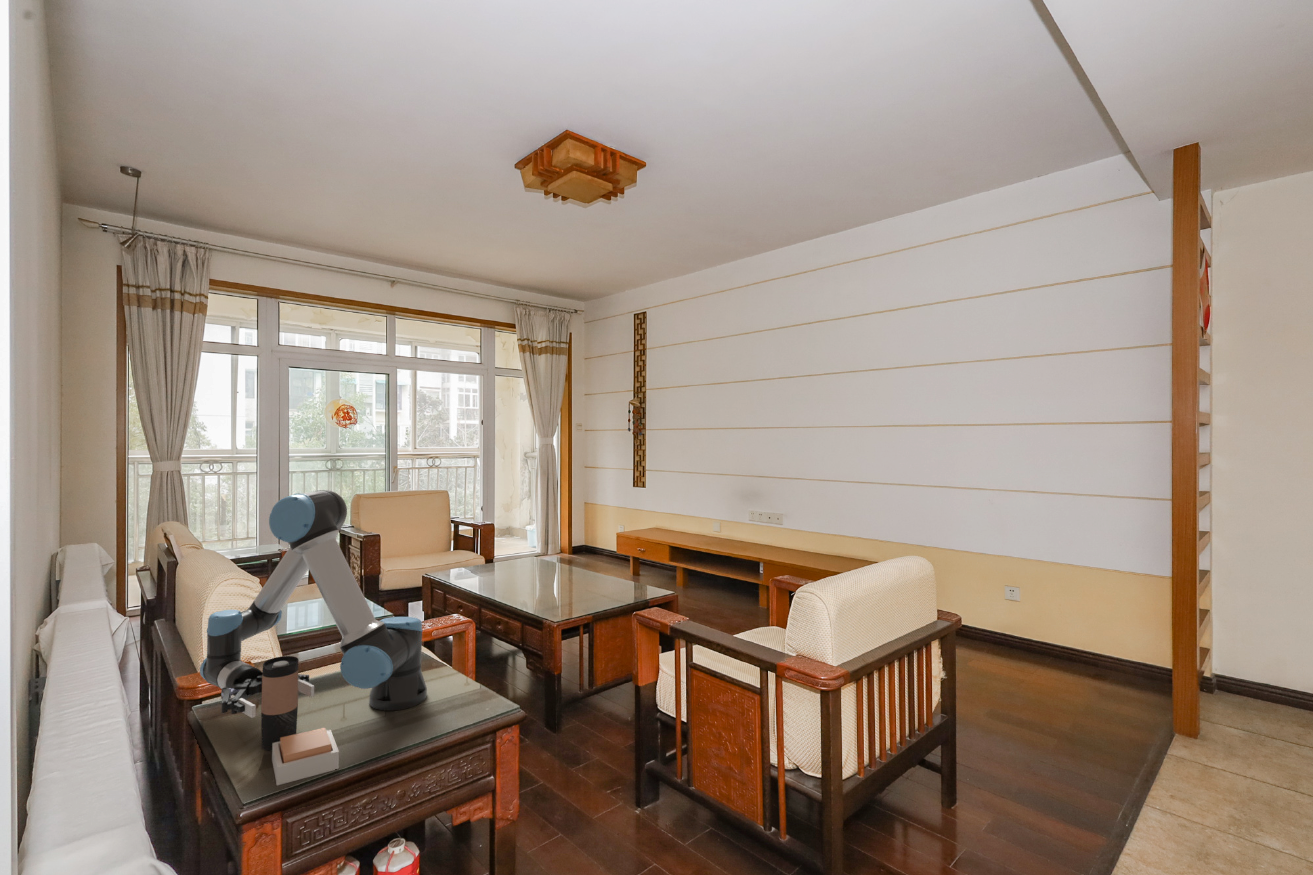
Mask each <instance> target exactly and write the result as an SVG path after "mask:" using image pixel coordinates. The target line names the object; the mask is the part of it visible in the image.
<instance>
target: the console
mask: <svg viewBox="0 0 1313 875" xmlns="http://www.w3.org/2000/svg"><path fill="white" fill-rule="evenodd" d="M326 731H327V734H328V736H329V739H330V742H331V752H327V753H323V754H319V755H315V756H311V757H307V758H303V759H299V760H295V761H291V762H287V763H283V762H282V758H281V753H280V742H275V743H272V750H271V762H272V768H273V772H274V778H275V783H276V784H275V785H276V786H281V785H284V784H288V783H292V782H295V781H298V780H299V781H300V780H303V779H307V778H310V777H313V776H317V775H321V774H325V773H328V772H333V771H336V770H335V769H337V770H339V769H340V768H339V766H340V764H339V763H340V759H339V758H340V751H339V748H338V745H337V743H336V741H335V737H334V736H333V733H332V730H331V729H326Z"/></svg>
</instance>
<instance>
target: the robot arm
mask: <svg viewBox="0 0 1313 875" xmlns="http://www.w3.org/2000/svg"><path fill="white" fill-rule="evenodd" d="M347 515H348V507H347V504H346V502H345V500H344V498H343V497H342V496H341V495H340V494H338V493H336V492H335V491H332V490H329V489H319V490H315V491H308V492H297V493H294V494H291V495H288V496H285V497H283V498H281V499H279V500H278V501H277V502H276V503H275V504H274V505H273V507H272V508H271V512H270V514H269V517H268V524H269V529H270V532H271V533H272V535H273V536H274V537H275V538H276V539H278V540H280V541H281V542H284V543H288V545H289V547H288V549H287V551H286V552H285V554H284V555H283V557H282V558H281V559H280V561H279V562H278V564H277V565H276V567H275V569H273V572H272V573H271V575H270V576H269V577H268V579H267V580H266V581H265V584H264V585H263V587H262V588H261V589H260V591H259V593H257V596H255V598H254V600H253V602H252V603H251V604H250V605H249V607H248V608H247V609H245V610H242V611H240V610H238V609H223V610H220V611H216V612H213V613H212V614H210V615H209V616H208V621H207V629H206V633H207V634H206V635H207V636H206V643H207V644H206V657H205V659H203V661H202V663H201V665H200V666H199V674H200V676H201V677H202V679H203V680H205V681H206V682H207V683H208V684H210V685H213V686H216V687H218V688H219V689H221V690H220V692H221V694H220V695H221V697H220V699H221V708H220V710H221V712H220V713H221V714H226V713H228V712H229V711H231V712H230V714H231V715H237V713H238V714H239V713H241V714H244V715H246V716H248V717H249V718H251V719H253V718H256V712H257V711H256V709H257V706H256V704H254V703H252V702H250V701H249V700H248V698H251V697H252V696H254V695H257V694H258V693H259V694H262V672H263V671H261V670H260V669H259V668H257V667H255V666H252V665H251V664H249V663H246V662H244V661H242V660H241V658H242V642H244V641H245V640H247V639H251V638H252V637H254V636H256V635H259V634H260V633H264V632H266V631H268V630H270V629H272V628H273V627H274V626H276V625H278V623H280V622H281V619H282V614H283V611H282V609H283V607H284V606H285V605H286V603H287V602H288V601H289V598H290V597H291V595H293V593H294V592H295V590H296V589H297V587H298V585H299V584H300V583H301V581H302V580H303V578H304V576H305V575H306V574H307V572H308V571H309V572H310V575H311V576H312V579H313V580H314V582H315V584H316V587H317V589H318V590H319V593H320V594H321V596H322V598H323V600H324V601H323V602H324V603H325V604H326V606H327V608H328V611H329V613H330V615H331V618H332V619H333V621H334V623H335V625H336V627H337V629H338V632H339V633H340V635H341V641H340V643H339V648H340V651H341V653H342V658H341V659H340V660H341V662H340V664H339V668H340V673H341V676H342V677H343V679H344V680H345V681H346V682H347V683H348V684H349V685H351V686H352V687H355V688H358V689H361V690H362V689H363V690H366V689H371V690H370V692H369V698H368V699H369V701H368V704H369V706H370V707H371V708H373V709H376V710H380V711H388V712H389V711H400V710H406V709H409V708H413V707H416V706H417V705H419V704H421V703H422V702H424V701H425V700H426V698H427V695H428V689H427V688H428V687H427V685H426V681H425V679H424V674H423V672H422V648H423V647H422V646H423V645H422V644H423V643H422V642H423V623H422V621H421V619H419V618H418V617H413V616H393V617H392V616H391V617H385V618H383V619H380V620H377V619H376V618H375V616H374V614H373V611H372V609H371V607H370V606H369V603H368V602H367V599H366V597H365V596H364V594H363V591H362V589H361V588H360V586H359V584H358V582H357V580H356V578H355V575H354V573H353V571H352V569H351V568H350V565H349V563H348V561H347V560H346V557H345V555H344V553H343V551H342V548H341V547H340V545H339V543H338V541H337V536H338V534H339V532H340V530H341V529H342V527H343V526H344V524H345V521H346V520H347ZM298 693H301V694H303V695H306V696H308V697H309V698H313V697H315V685H314V684H312V683H311V682H310V674H302V673H298ZM232 696H233V697H232ZM230 699H231V701H230Z"/></svg>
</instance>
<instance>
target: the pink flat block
mask: <svg viewBox="0 0 1313 875" xmlns="http://www.w3.org/2000/svg"><path fill="white" fill-rule="evenodd" d="M327 752H331V742H330V739H329V736H328V734H327V729H326V727H321V728H317V729H312V730H309V731H303V732H300V733H296V734H294V735H290V736H285V737H281V738H280V753H281V758H282V762H283V763H287V762H291V761H295V760H299V759H303V758H307V757H311V756H315V755H319V754H323V753H327Z"/></svg>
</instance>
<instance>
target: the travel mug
mask: <svg viewBox="0 0 1313 875" xmlns="http://www.w3.org/2000/svg"><path fill="white" fill-rule="evenodd" d="M261 672H262V693H261V702H260V703H261V705H260V706H261V707H260V709H261V710H260V712H261V713H260V716H261V717H260V718H261V719H260V720H261V721H260V722H261V724H260V727H261V729H260V730H261V748H262V749H263V750H264V751H265V750H266V751H272V743H275V742H280V738H281V737H285V736H290V735H294V734H297V729H298V728H297V727H298V726H297V724H298V709H299V708H298V707H299V691H298V674H299V658H298V656H297V657H296V656H291V655H288V656H287V655H284V656H283V655H282V656H277V657H272V658H270V659H268V660H266V661H264V663H263V664H262V671H261Z"/></svg>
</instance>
